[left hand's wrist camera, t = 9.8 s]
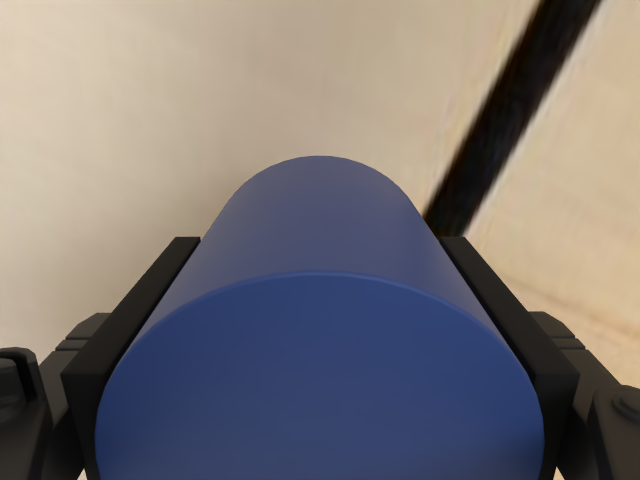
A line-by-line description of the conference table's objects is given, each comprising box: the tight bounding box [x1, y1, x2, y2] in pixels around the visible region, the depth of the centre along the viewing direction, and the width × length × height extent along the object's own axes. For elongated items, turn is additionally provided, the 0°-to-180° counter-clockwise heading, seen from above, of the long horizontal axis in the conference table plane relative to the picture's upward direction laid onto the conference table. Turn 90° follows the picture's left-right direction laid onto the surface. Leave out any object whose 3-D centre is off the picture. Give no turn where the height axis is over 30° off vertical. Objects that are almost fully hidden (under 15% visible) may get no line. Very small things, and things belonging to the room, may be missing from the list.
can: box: [94, 156, 545, 480], centre depth 11 cm, size 7×7×8 cm
